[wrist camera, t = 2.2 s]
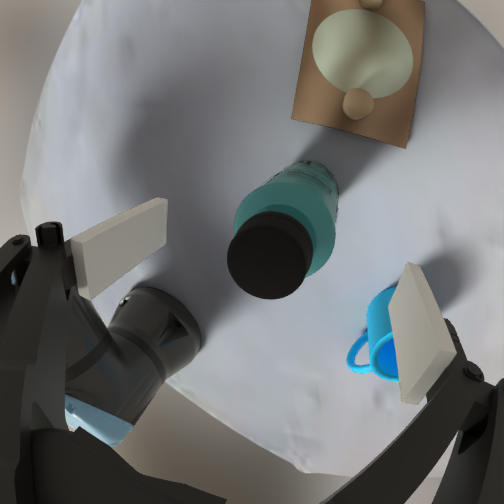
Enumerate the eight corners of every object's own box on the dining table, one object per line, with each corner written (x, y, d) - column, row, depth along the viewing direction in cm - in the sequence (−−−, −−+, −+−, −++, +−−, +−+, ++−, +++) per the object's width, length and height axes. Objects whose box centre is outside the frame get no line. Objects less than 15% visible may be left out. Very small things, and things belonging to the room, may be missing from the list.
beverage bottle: (333, 220, 32) (323, 337, 14) (275, 210, 33) (199, 309, 15) (342, 163, 29) (353, 211, 11) (281, 153, 30) (200, 188, 13)
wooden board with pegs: (293, 119, 28) (280, 115, 22) (316, -19, 21) (309, -53, 14) (402, 147, 26) (422, 153, 20) (421, 6, 18) (439, -21, 12)
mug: (407, 273, 31) (421, 312, 24) (435, 316, 32) (449, 357, 25) (330, 323, 37) (326, 366, 30) (363, 359, 38) (363, 402, 31)
